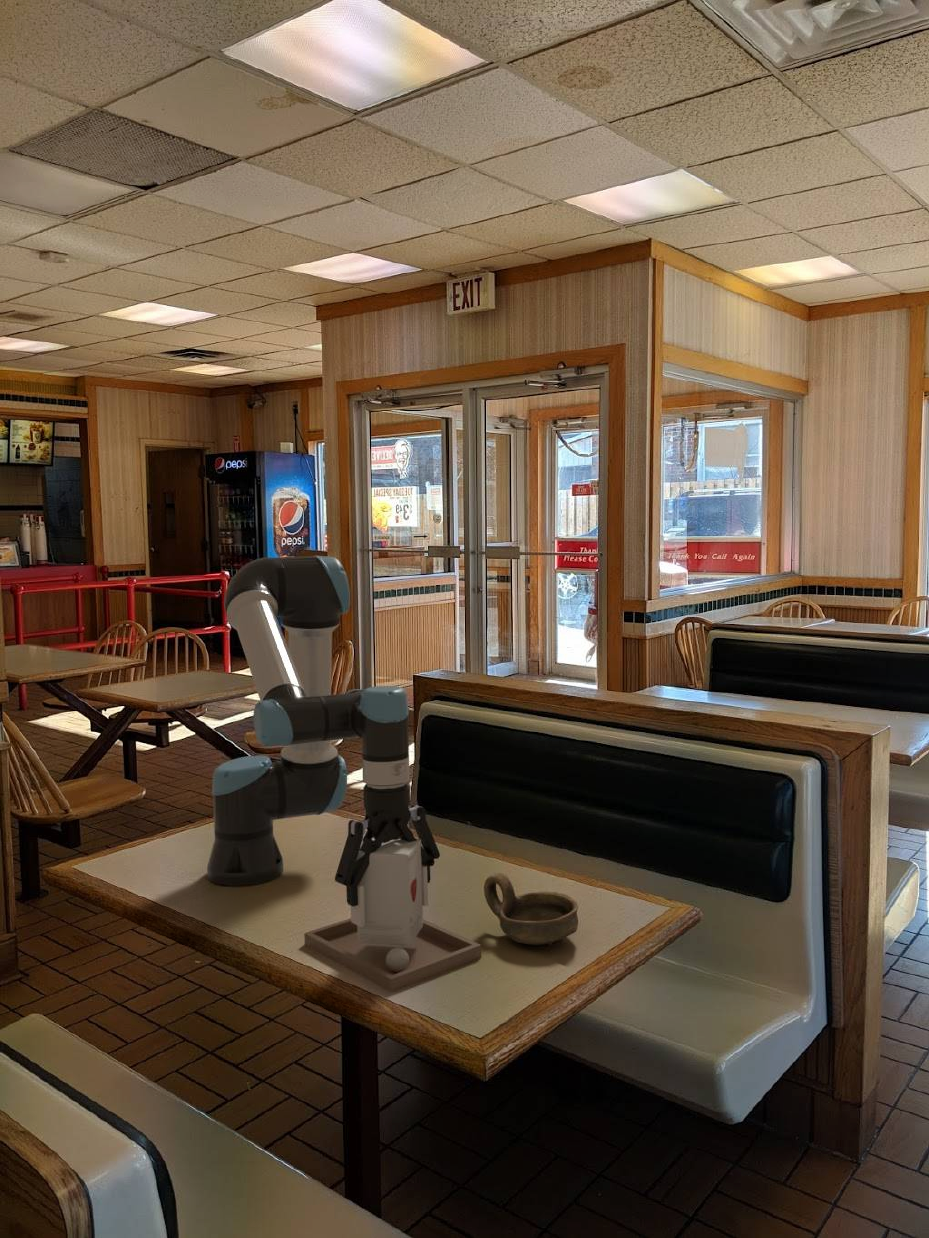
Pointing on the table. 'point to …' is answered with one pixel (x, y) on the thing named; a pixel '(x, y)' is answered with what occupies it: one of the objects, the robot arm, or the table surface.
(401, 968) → the ball
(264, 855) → the robot arm
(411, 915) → the supplement box
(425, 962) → the tray
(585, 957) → the table surface
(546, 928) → the bowl
